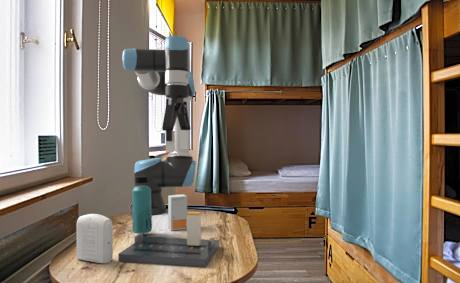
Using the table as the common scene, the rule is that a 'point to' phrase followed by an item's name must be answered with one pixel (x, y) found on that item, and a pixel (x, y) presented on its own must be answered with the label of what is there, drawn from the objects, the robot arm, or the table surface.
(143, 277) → the table surface
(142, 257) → the console
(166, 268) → the table surface
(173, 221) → the skincare box
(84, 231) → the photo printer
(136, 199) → the beverage bottle
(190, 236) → the fader
